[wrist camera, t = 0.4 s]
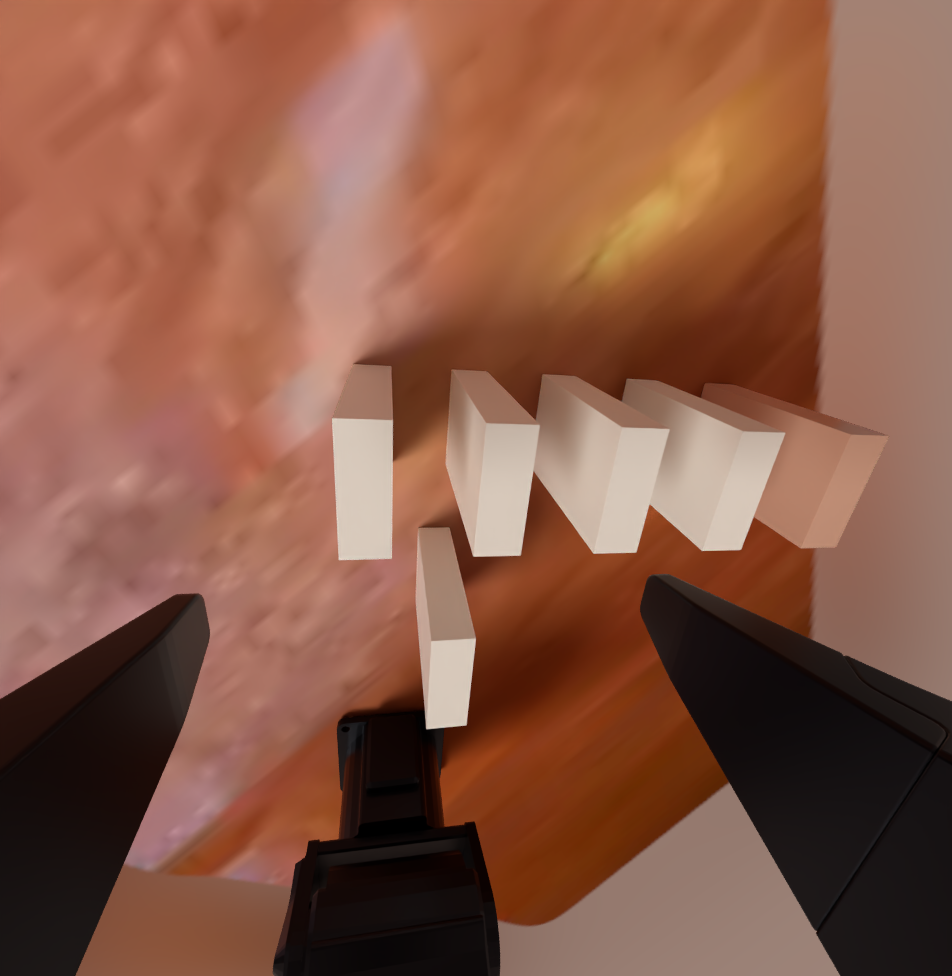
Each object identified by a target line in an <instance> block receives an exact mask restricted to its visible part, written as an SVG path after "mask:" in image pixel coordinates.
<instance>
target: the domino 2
mask: <svg viewBox="0 0 952 976" xmlns="http://www.w3.org/2000/svg"><path fill="white" fill-rule="evenodd" d="M416 610H417V622H418V634H419V647H420V659H421V671H422V683H423V695H424V707H425V719H426V729H435V728H445V727H455V726H466V725H467V717H468V707H469V698H470V689H471V680H472V671H473V661H474V652H475V643H476V636H475V632H474V628H473V624H472V620H471V615H470V611H469V607H468V603H467V599H466V594H465V590H464V586H463V582H462V578H461V574H460V569H459V565H458V561H457V557H456V553H455V548H454V544H453V540H452V536H451V532H450V527H439V528H418V547H417V574H416Z"/></svg>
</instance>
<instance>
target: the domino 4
mask: <svg viewBox="0 0 952 976" xmlns="http://www.w3.org/2000/svg"><path fill="white" fill-rule="evenodd" d="M536 421H537V422H538V423H539V424H540V429H539V435H538V442H537V449H536V456H535V462H534V469H533V471H534V472H535V474H536V475H537V476H538V478H539V479H540V481H541V482H542V483H543V485H544V486H545V487H546V489H547V490H548V492H549V493H550V494H551V496H552V497H553V498H554V500H555V501H556V503H557V504H558V505H559V507H560V508H561V509H562V511H563V512H564V514H565V515H566V516H567V518H568V519H569V520H570V522H571V523H572V525H573V526H574V527H575V529H576V530H577V531H578V533H579V534H580V536H581V537H582V538H583V540H584V541H585V542H586V544H587V545H588V547H589V548H590V549H591V551H592V552H593V553H594V554H597V553H636V552H637V548H638V545H639V541H640V537H641V533H642V530H643V526H644V522H645V519H646V515H647V511H648V508H649V504H650V500H651V496H652V493H653V489H654V485H655V482H656V478H657V474H658V471H659V467H660V463H661V460H662V456H663V452H664V448H665V445H666V441H667V437H668V434H669V430H670V429H669V428H667V427H665V426H664V425H662V424H660V423H658V422H656V421H655V420H653V419H651V418H649V417H648V416H646V415H644V414H642V413H640V412H639V411H637V410H635V409H633V408H632V407H630V406H628V405H626V404H624V403H623V402H621V401H619V400H617V399H615V398H614V397H612V396H610V395H608V394H607V393H605V392H603V391H601V390H599V389H598V388H596V387H594V386H592V385H591V384H589V383H587V382H585V381H583V380H582V379H580V378H578V377H576V376H567V375H549V374H542V381H541V388H540V395H539V402H538V409H537V416H536Z"/></svg>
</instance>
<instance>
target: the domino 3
mask: <svg viewBox="0 0 952 976" xmlns="http://www.w3.org/2000/svg"><path fill="white" fill-rule="evenodd" d="M539 429H540V424H539V423H538V422H537V421H536V420H535V419H534V418H533V417H532V416H531V415H530V414H529V413H528V412H527V411H526V410H525V409H524V408H523V407H522V406H521V405H520V404H519V403H518V402H517V401H516V400H515V399H514V398H513V397H512V396H511V395H510V394H509V393H508V392H507V391H506V390H505V389H504V388H503V387H502V386H501V385H500V384H499V383H498V382H497V381H496V380H495V379H494V378H493V377H492V376H491V375H490V374H489V373H488V372H487V371H474V370H456V369H451V385H450V401H449V417H448V434H447V450H446V467H447V470H448V474H449V477H450V480H451V484H452V487H453V490H454V494H455V497H456V500H457V504H458V507H459V510H460V514H461V517H462V520H463V524H464V527H465V530H466V534H467V537H468V540H469V544H470V547H471V550H472V554H473V557H483V556H521V550H522V544H523V537H524V530H525V523H526V517H527V510H528V503H529V496H530V489H531V483H532V476H533V469H534V462H535V456H536V449H537V442H538V435H539Z"/></svg>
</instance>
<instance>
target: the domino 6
mask: <svg viewBox="0 0 952 976" xmlns="http://www.w3.org/2000/svg"><path fill="white" fill-rule="evenodd" d="M701 398H702V399H704V400H707V401H709V402H711V403H714V404H716V405H719V406H721V407H724V408H726V409H729V410H731V411H734V412H736V413H738V414H741V415H743V416H746V417H748V418H751V419H753V420H756V421H758V422H760V423H763V424H765V425H768V426H770V427H773V428H775V429H778V430H780V431H783V432H785V436H784V438H783V441H782V444H781V446H780V449H779V451H778V454H777V457H776V459H775V462H774V465H773V467H772V470H771V472H770V475H769V478H768V480H767V483H766V485H765V488H764V491H763V493H762V496H761V499H760V501H759V504H758V506H757V509H756V512H755V514H754V517H755V518H756V519H758V520H759V521H761V522H762V523H764V524H765V525H767V526H768V527H770V528H771V529H773V530H774V531H776V532H777V533H779V534H780V535H782V536H783V537H785V538H786V539H788V540H789V541H791V542H792V543H794V544H795V545H797V546H798V547H800V548H831V547H836V546H837V544H838V542H839V540H840V538H841V535H842V534H843V532H844V529H845V527H846V525H847V523H848V521H849V519H850V517H851V515H852V512H853V511H854V509H855V507H856V505H857V502H858V500H859V498H860V496H861V494H862V492H863V490H864V488H865V486H866V484H867V482H868V480H869V478H870V475H871V473H872V471H873V469H874V467H875V465H876V463H877V461H878V459H879V457H880V455H881V453H882V450H883V448H884V446H885V444H886V442H887V440H888V438H889V436H888V435H885V434H882V433H879V432H876V431H873V430H870V429H867V428H864V427H861V426H858V425H855V424H852V423H849V422H846V421H842V420H840V419H837V418H833V417H831V416H828V415H825V414H822V413H818V412H815V411H812V410H809V409H806V408H803V407H800V406H797V405H794V404H791V403H788V402H785V401H782V400H779V399H776V398H773V397H770V396H767V395H764V394H761V393H758V392H755V391H752V390H749V389H746V388H743V387H740V386H737V385H733V384H716V383H705V384H704V388H703V391H702V395H701Z"/></svg>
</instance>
